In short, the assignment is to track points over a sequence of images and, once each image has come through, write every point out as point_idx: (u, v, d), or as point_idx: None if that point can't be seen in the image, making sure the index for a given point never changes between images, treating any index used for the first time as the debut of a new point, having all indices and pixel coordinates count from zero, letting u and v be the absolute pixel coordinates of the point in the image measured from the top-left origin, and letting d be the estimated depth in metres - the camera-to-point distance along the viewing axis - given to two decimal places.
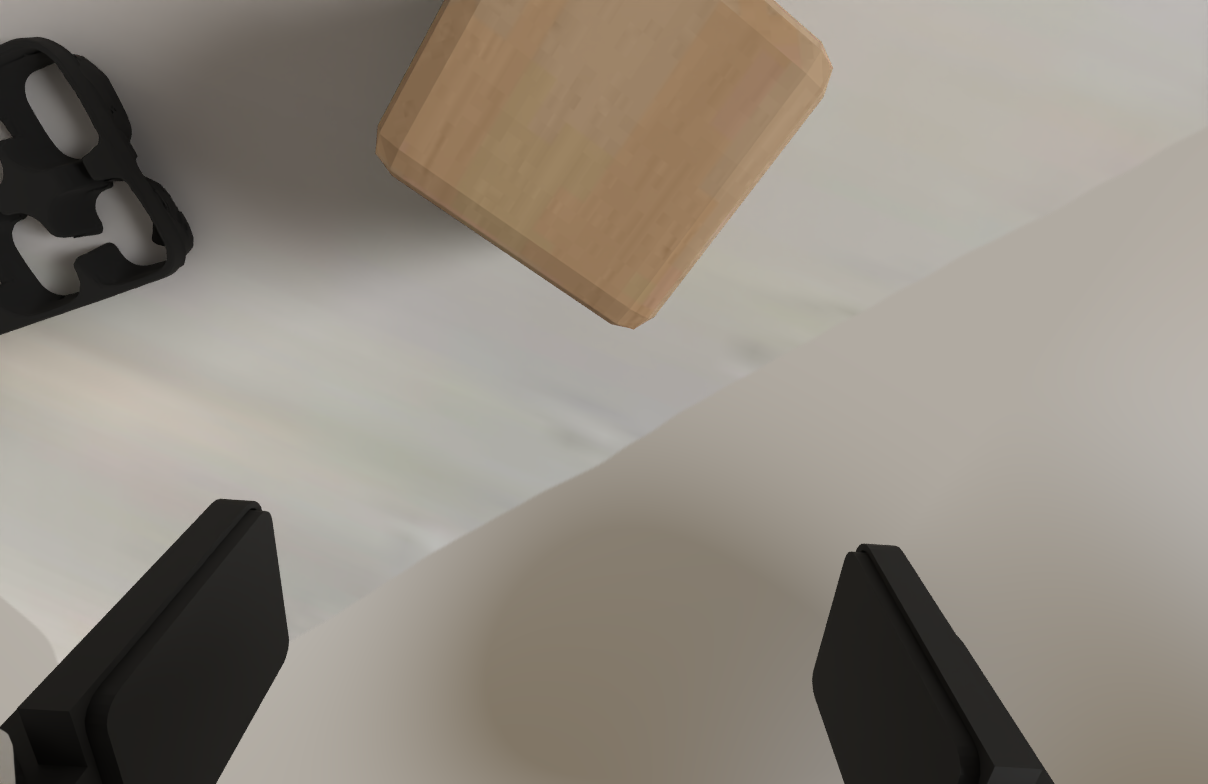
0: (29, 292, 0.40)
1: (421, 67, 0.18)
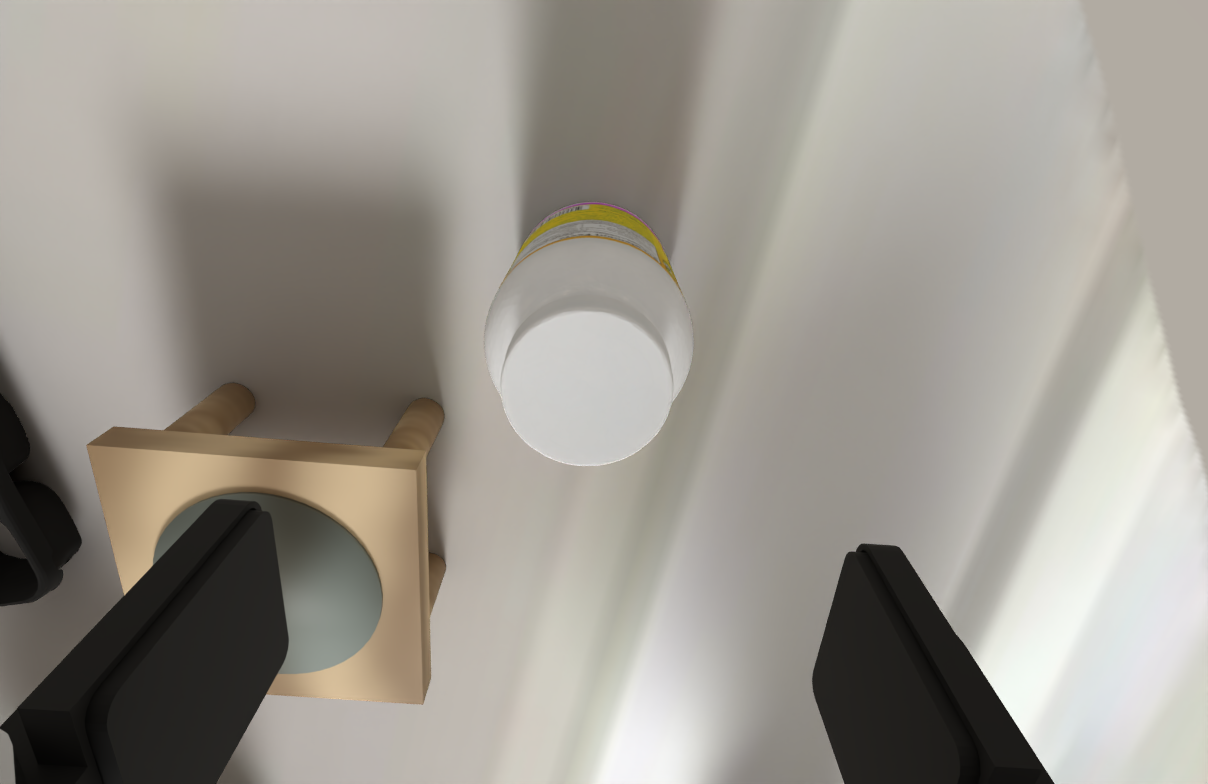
0: None
1: None
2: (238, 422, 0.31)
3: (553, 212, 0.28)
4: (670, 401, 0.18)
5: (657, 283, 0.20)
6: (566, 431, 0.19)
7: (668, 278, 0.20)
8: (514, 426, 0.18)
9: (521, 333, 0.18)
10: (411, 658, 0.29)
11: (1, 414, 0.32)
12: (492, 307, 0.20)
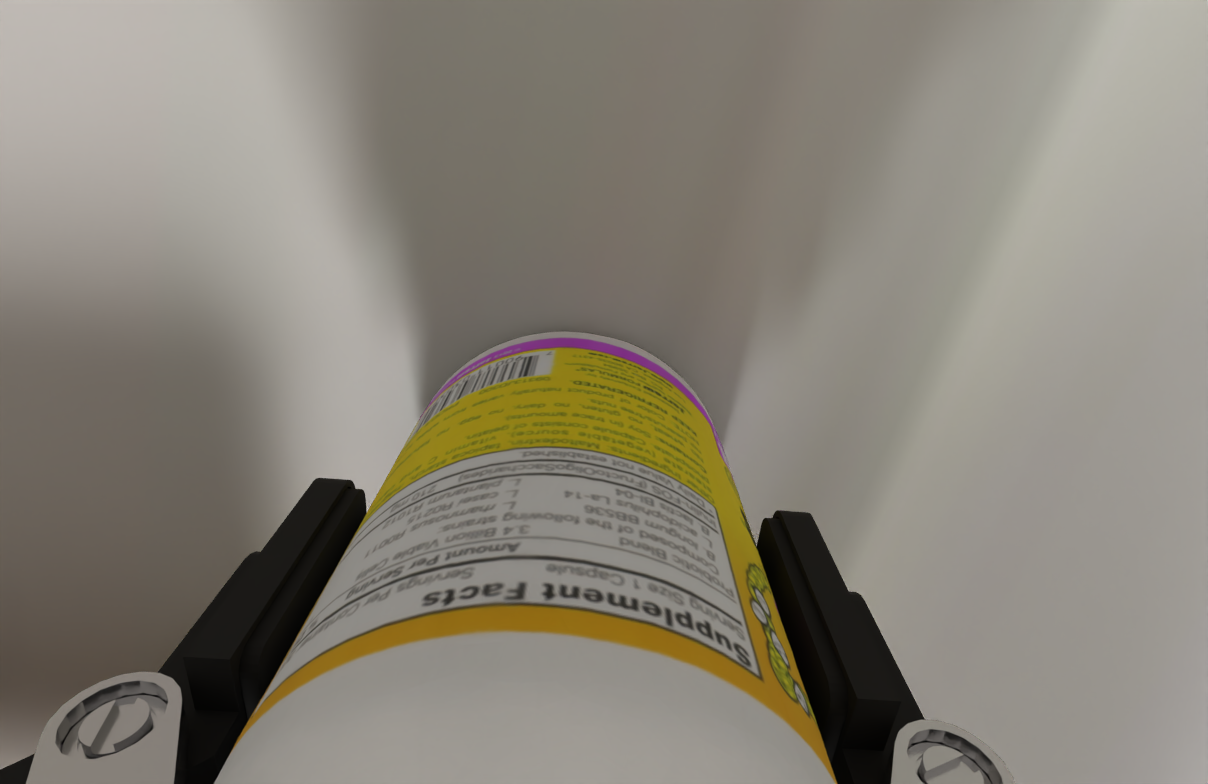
0: None
1: None
2: None
3: (481, 355, 0.13)
4: None
5: None
6: None
7: None
8: None
9: None
10: None
11: None
12: None
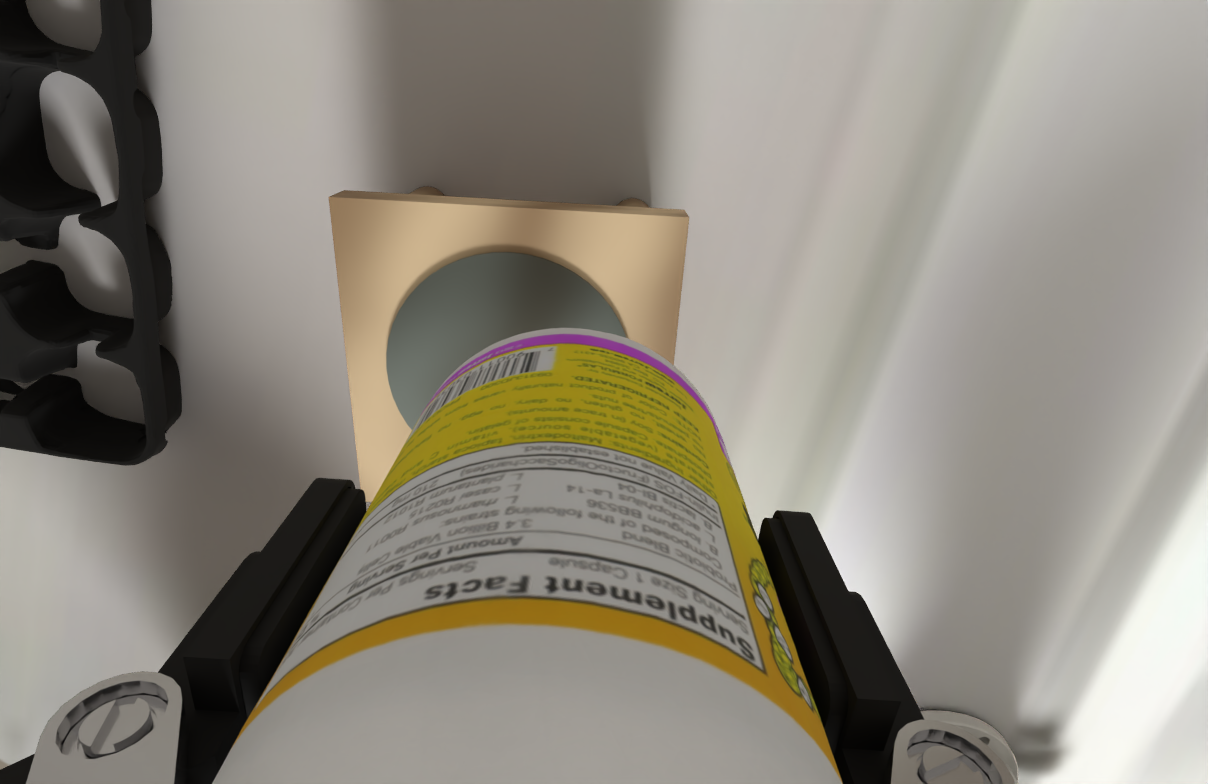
0: None
1: None
2: None
3: (482, 351, 0.13)
4: None
5: None
6: None
7: None
8: None
9: None
10: None
11: (162, 269, 0.30)
12: None
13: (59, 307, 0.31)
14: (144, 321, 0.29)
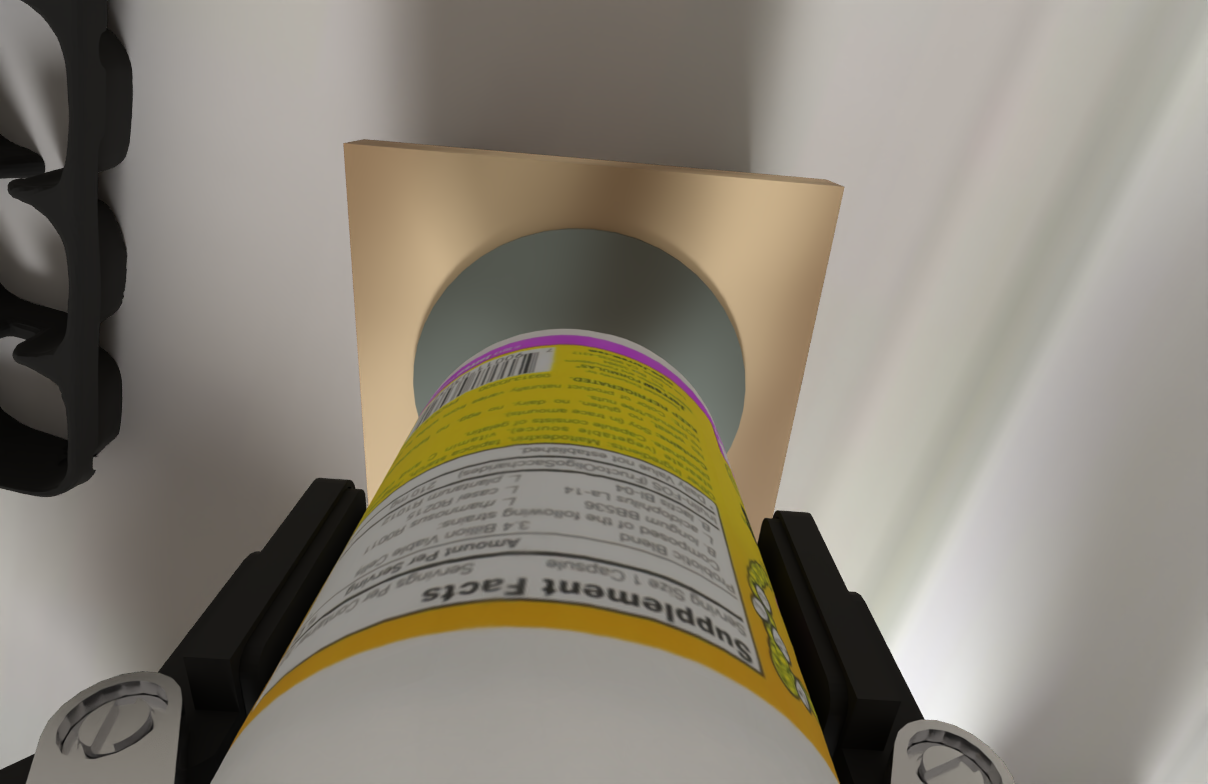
0: None
1: None
2: None
3: (481, 352, 0.13)
4: None
5: None
6: None
7: None
8: None
9: None
10: (759, 510, 0.20)
11: (114, 260, 0.24)
12: None
13: None
14: (81, 325, 0.23)
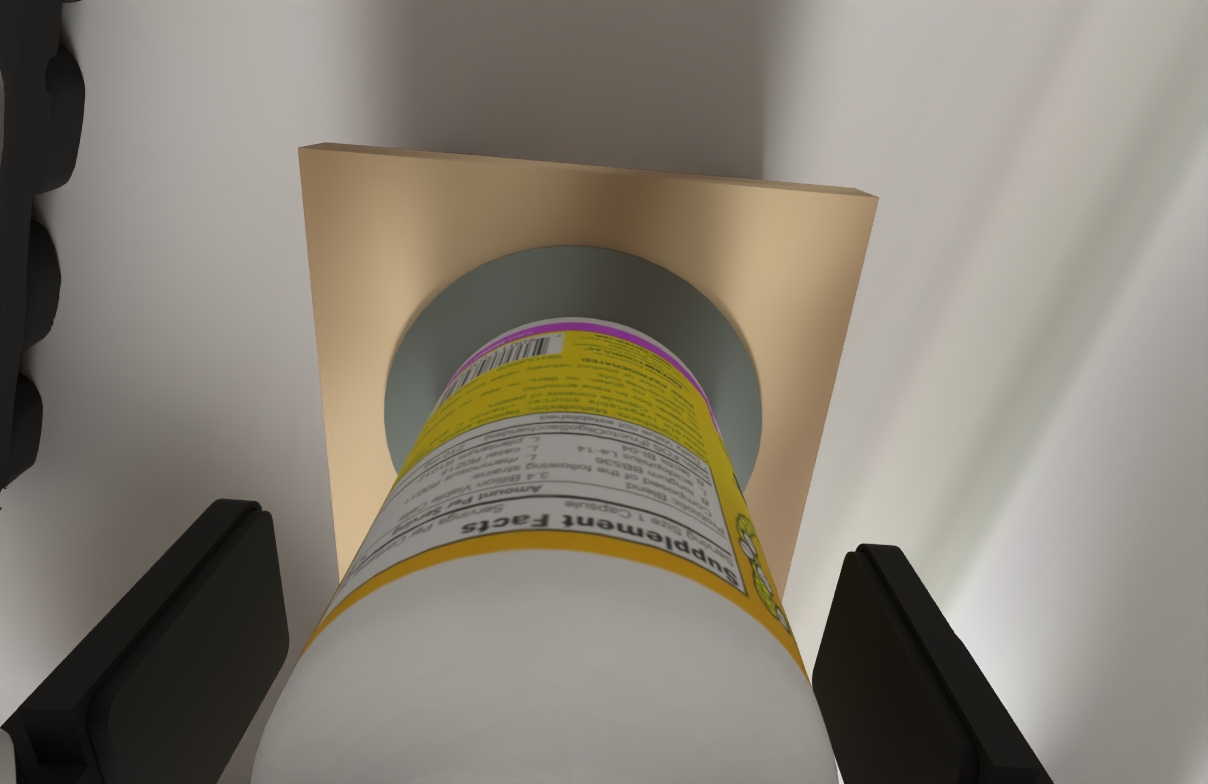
0: None
1: None
2: None
3: (496, 339, 0.14)
4: None
5: (753, 727, 0.06)
6: None
7: (779, 677, 0.07)
8: None
9: None
10: (775, 558, 0.18)
11: (45, 288, 0.22)
12: (257, 758, 0.07)
13: None
14: None
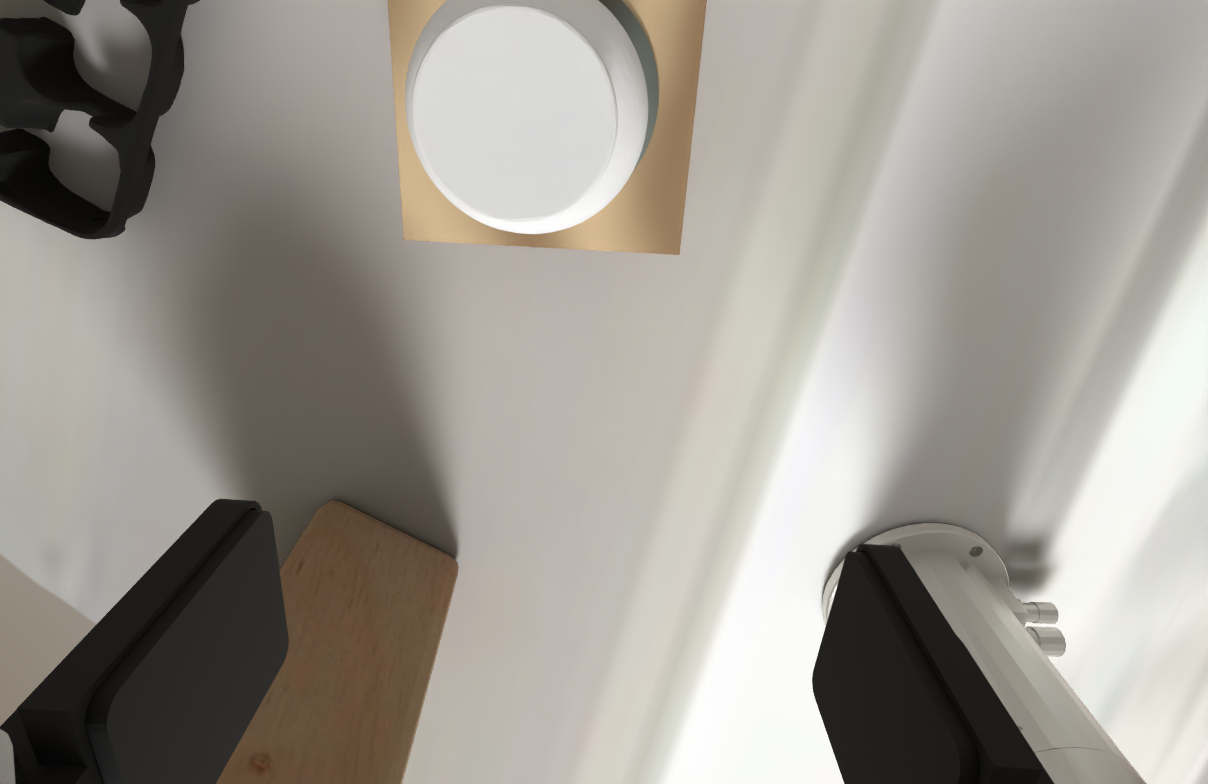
0: None
1: None
2: None
3: None
4: (614, 130, 0.15)
5: (599, 15, 0.17)
6: (494, 175, 0.16)
7: (614, 16, 0.17)
8: (432, 171, 0.16)
9: (431, 43, 0.15)
10: (675, 191, 0.29)
11: (176, 73, 0.33)
12: (410, 59, 0.18)
13: (60, 70, 0.32)
14: (148, 111, 0.31)
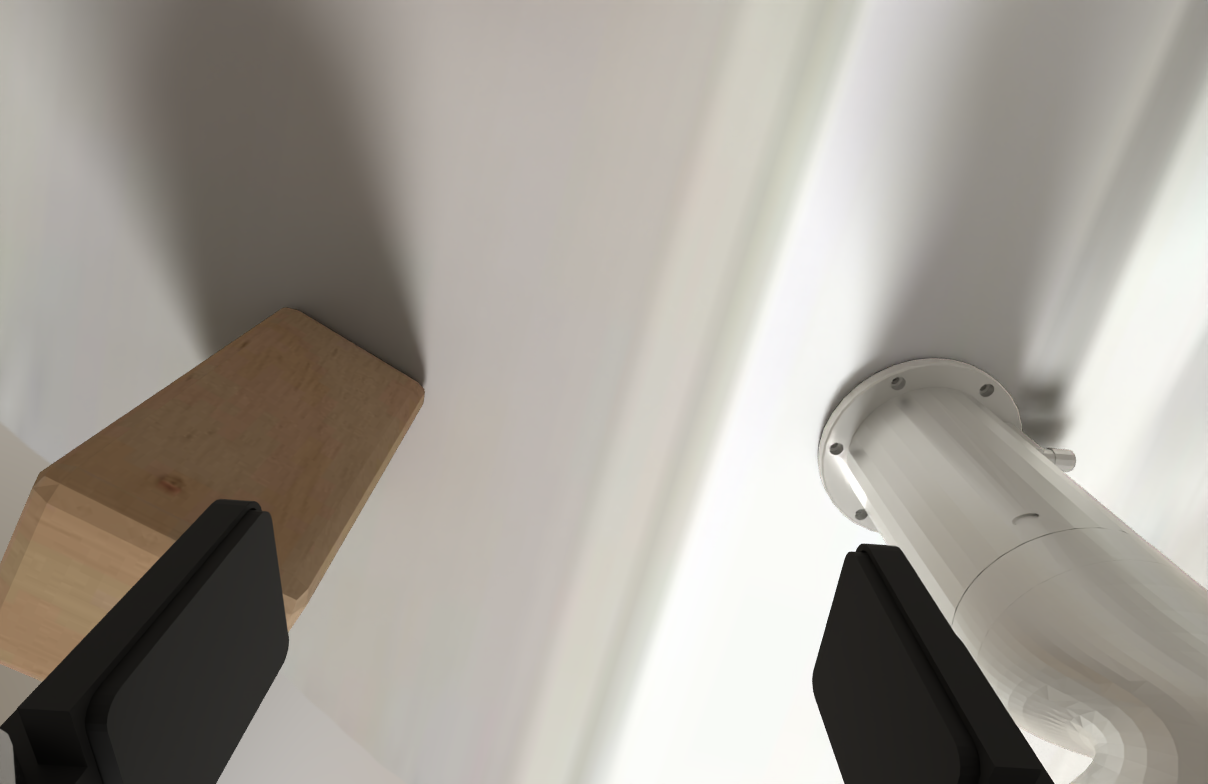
0: None
1: (120, 519, 0.23)
2: None
3: None
4: None
5: None
6: None
7: None
8: None
9: None
10: None
11: None
12: None
13: None
14: None
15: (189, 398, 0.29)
